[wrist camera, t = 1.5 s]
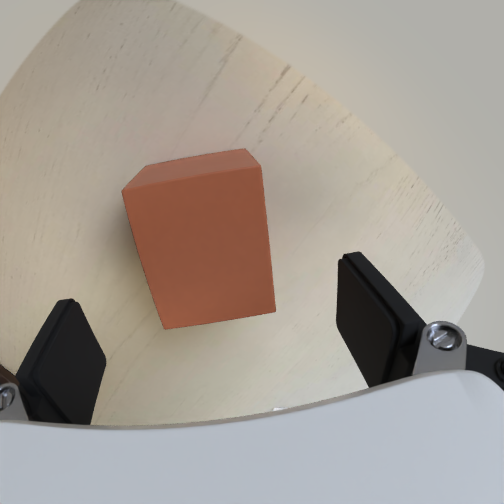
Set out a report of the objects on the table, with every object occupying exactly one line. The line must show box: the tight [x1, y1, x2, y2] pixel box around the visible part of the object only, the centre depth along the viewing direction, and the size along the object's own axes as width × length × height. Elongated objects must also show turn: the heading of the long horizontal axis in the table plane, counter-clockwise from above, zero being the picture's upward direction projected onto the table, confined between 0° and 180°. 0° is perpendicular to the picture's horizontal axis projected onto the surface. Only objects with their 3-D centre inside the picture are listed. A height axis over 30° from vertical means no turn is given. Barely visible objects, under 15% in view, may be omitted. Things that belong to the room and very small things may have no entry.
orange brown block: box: [122, 148, 276, 329], centre depth 15 cm, size 7×6×5 cm
